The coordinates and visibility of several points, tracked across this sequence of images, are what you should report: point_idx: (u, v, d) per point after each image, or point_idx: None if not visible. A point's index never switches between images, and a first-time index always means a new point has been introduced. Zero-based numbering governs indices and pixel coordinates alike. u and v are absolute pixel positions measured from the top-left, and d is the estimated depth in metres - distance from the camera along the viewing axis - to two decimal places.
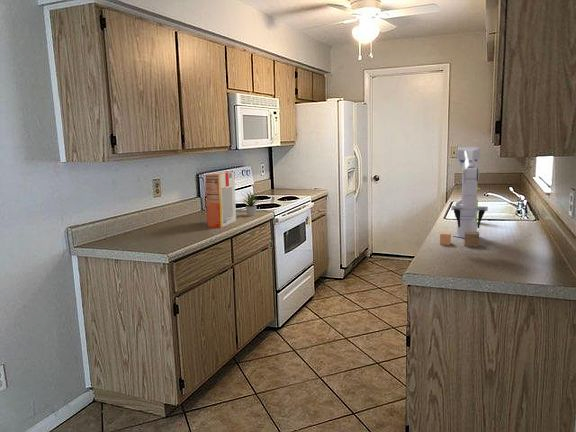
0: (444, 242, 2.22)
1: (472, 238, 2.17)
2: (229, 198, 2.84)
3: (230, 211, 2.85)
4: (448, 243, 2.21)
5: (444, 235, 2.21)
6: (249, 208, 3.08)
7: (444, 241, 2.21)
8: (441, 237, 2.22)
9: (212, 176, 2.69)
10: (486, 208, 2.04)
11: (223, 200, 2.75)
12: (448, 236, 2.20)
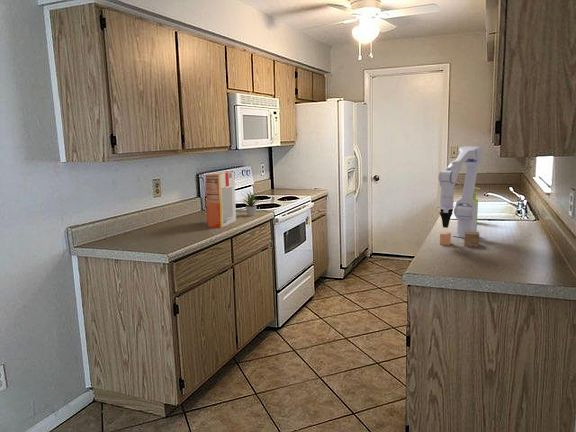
0: (444, 242, 2.22)
1: (472, 238, 2.17)
2: (229, 198, 2.84)
3: (230, 211, 2.85)
4: (448, 243, 2.21)
5: (444, 235, 2.21)
6: (249, 208, 3.08)
7: (444, 241, 2.21)
8: (441, 237, 2.22)
9: (212, 176, 2.69)
10: (443, 210, 2.15)
11: (223, 200, 2.75)
12: (448, 236, 2.20)
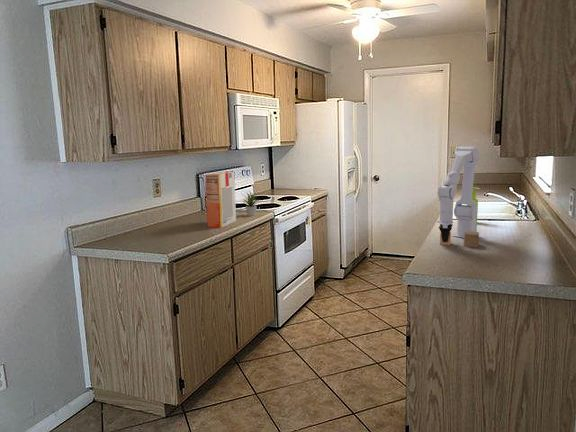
0: (444, 242, 2.22)
1: (472, 238, 2.17)
2: (229, 198, 2.84)
3: (230, 211, 2.85)
4: (448, 243, 2.21)
5: None
6: (249, 208, 3.08)
7: None
8: (441, 237, 2.22)
9: (212, 176, 2.69)
10: (442, 225, 2.16)
11: (223, 200, 2.75)
12: None
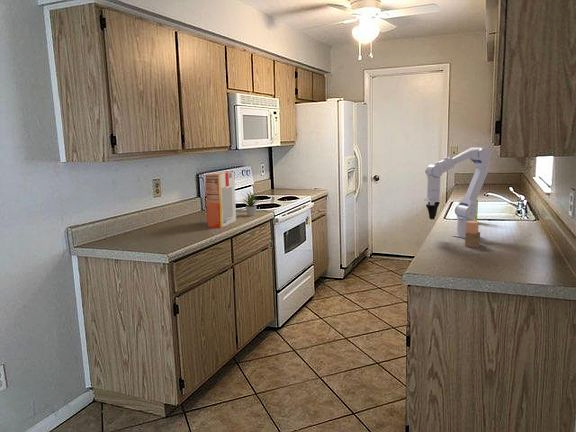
0: (470, 231, 2.17)
1: (473, 238, 2.16)
2: (229, 198, 2.84)
3: (230, 211, 2.85)
4: (474, 232, 2.16)
5: (471, 224, 2.16)
6: (249, 208, 3.08)
7: (470, 230, 2.17)
8: (467, 225, 2.17)
9: (212, 176, 2.69)
10: (429, 202, 2.24)
11: (223, 200, 2.75)
12: (474, 225, 2.16)
